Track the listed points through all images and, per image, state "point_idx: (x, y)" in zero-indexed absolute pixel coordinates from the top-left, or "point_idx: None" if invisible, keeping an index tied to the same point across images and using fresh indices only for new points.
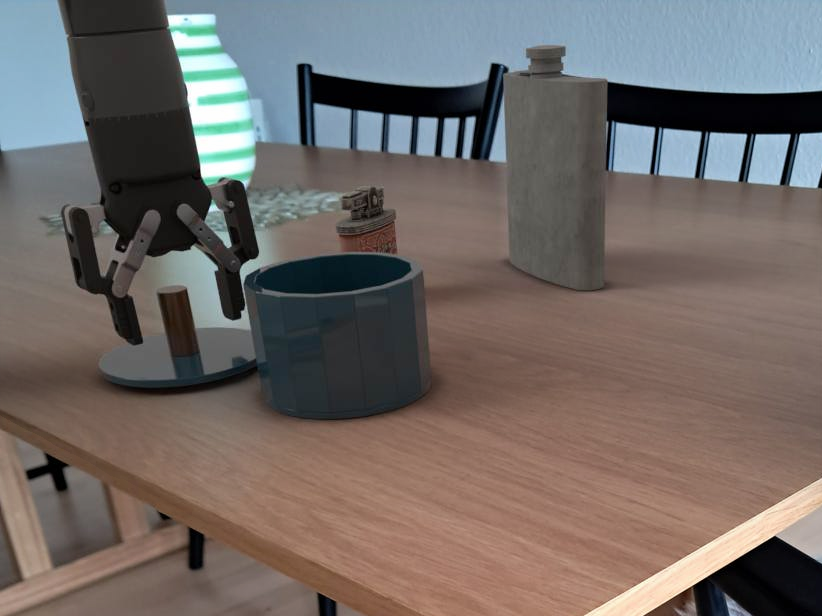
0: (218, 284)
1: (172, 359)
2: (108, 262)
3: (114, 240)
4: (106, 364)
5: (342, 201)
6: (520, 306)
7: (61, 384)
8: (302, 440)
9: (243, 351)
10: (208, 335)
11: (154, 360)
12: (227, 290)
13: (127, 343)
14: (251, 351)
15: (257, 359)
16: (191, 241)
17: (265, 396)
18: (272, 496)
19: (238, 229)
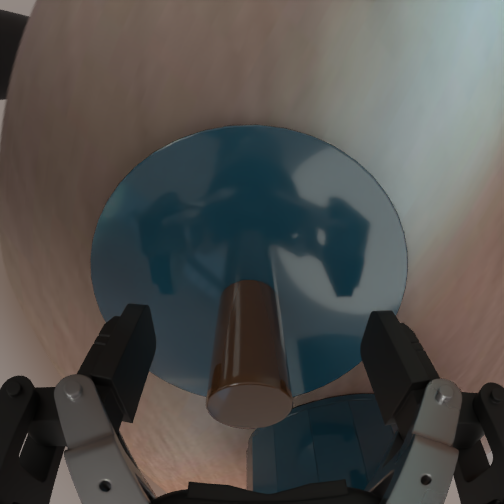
0: (396, 364)
1: (211, 324)
2: (66, 442)
3: (81, 502)
4: (102, 262)
5: None
6: None
7: (48, 210)
8: (232, 470)
9: (319, 363)
10: (344, 241)
11: (182, 306)
12: (377, 392)
13: (176, 149)
14: (326, 369)
15: (251, 471)
16: None
17: (250, 442)
18: (181, 484)
19: (461, 486)
